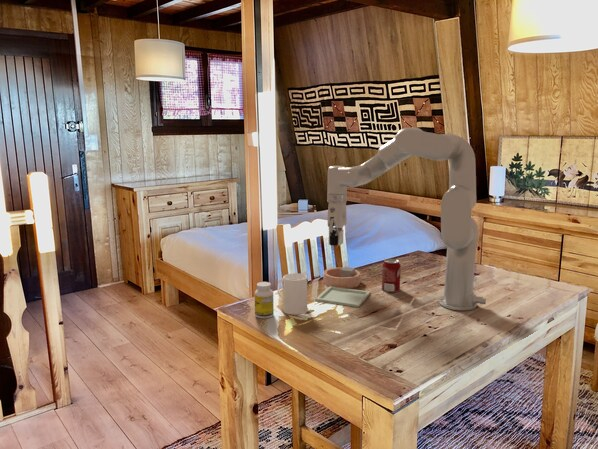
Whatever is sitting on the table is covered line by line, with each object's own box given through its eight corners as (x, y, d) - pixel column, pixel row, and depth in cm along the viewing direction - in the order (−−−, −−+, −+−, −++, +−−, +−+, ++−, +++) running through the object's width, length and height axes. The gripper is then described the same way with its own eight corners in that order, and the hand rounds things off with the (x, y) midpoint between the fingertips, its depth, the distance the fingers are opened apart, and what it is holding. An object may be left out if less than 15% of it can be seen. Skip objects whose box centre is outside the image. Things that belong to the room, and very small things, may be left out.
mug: (270, 308, 171) (270, 275, 169) (287, 301, 178) (287, 269, 175) (296, 317, 164) (296, 282, 161) (312, 309, 170) (313, 276, 168)
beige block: (343, 243, 197) (343, 229, 195) (339, 245, 193) (339, 231, 191) (332, 242, 198) (332, 228, 197) (328, 244, 194) (328, 230, 193)
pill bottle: (253, 313, 167) (252, 281, 165) (271, 311, 169) (270, 280, 166) (256, 320, 161) (256, 287, 159) (275, 318, 163) (275, 285, 161)
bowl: (364, 280, 201) (364, 269, 200) (353, 291, 188) (353, 280, 187) (330, 276, 207) (330, 265, 206) (318, 286, 194) (318, 275, 193)
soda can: (394, 295, 184) (395, 264, 182) (378, 291, 188) (379, 261, 186) (402, 290, 190) (403, 260, 187) (386, 286, 194) (387, 257, 191)
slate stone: (355, 281, 198) (355, 268, 196) (351, 284, 194) (351, 271, 193) (344, 280, 200) (344, 266, 198) (340, 283, 196) (340, 269, 194)
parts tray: (370, 294, 185) (370, 291, 184) (358, 308, 171) (358, 305, 171) (329, 289, 191) (329, 286, 191) (315, 302, 177) (315, 298, 177)
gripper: (339, 201, 183) (338, 249, 186) (352, 195, 198) (351, 240, 202) (320, 200, 186) (319, 247, 189) (334, 194, 201) (334, 238, 204)
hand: (336, 243), depth 195 cm, fingers closed on beige block, 4 cm apart
